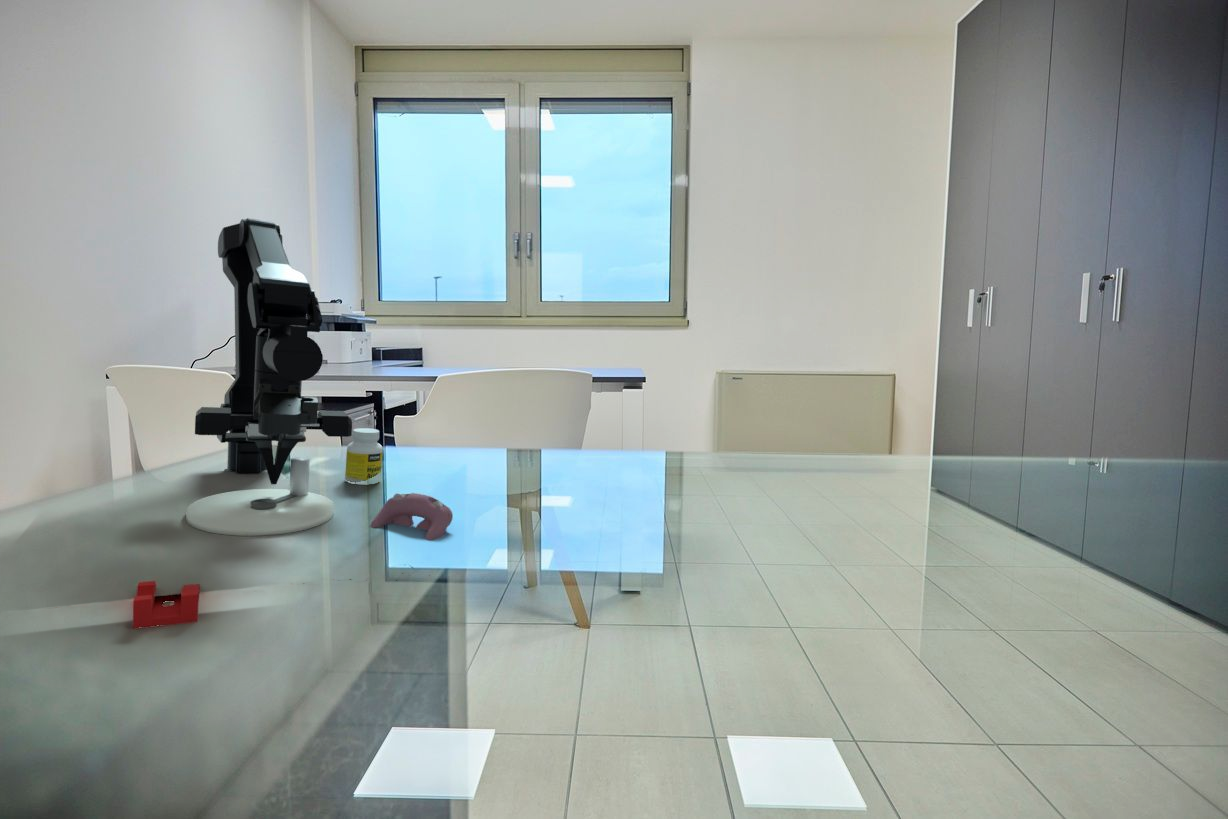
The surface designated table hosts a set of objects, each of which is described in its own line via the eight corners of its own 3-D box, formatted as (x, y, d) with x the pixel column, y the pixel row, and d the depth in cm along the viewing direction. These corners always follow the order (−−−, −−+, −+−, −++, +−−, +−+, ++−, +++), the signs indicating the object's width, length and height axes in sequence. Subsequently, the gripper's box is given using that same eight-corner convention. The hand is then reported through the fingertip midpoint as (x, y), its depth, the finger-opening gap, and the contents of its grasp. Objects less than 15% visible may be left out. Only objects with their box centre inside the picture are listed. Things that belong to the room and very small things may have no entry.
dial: (320, 492, 99) (322, 453, 99) (346, 528, 85) (348, 482, 85) (184, 499, 90) (185, 456, 89) (188, 541, 76) (189, 490, 75)
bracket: (197, 625, 62) (197, 594, 61) (132, 632, 59) (133, 600, 59) (199, 596, 67) (200, 568, 67) (140, 602, 65) (140, 573, 64)
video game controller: (445, 555, 88) (461, 504, 90) (429, 550, 84) (446, 496, 86) (382, 541, 91) (399, 491, 93) (363, 534, 87) (381, 482, 89)
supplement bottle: (368, 496, 105) (371, 435, 104) (337, 491, 106) (340, 430, 105) (386, 488, 110) (390, 430, 109) (357, 483, 111) (360, 425, 110)
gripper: (194, 374, 79) (190, 502, 81) (361, 382, 88) (354, 497, 90) (198, 364, 89) (194, 479, 91) (348, 372, 98) (342, 477, 100)
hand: (273, 483), depth 93 cm, fingers closed
